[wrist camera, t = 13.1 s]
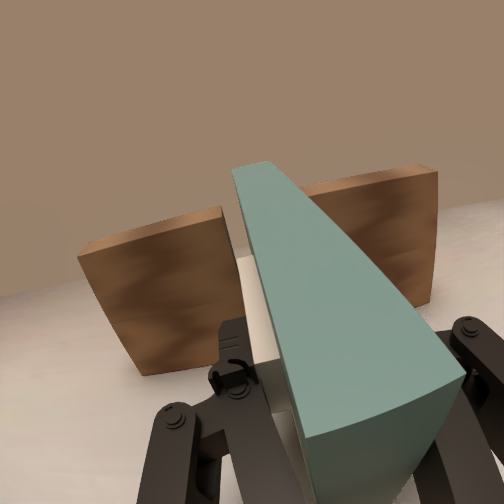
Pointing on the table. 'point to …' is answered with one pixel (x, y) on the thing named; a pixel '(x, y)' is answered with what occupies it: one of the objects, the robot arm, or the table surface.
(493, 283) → the table surface
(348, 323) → the cross plate
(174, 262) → the notched brown wooden panel
